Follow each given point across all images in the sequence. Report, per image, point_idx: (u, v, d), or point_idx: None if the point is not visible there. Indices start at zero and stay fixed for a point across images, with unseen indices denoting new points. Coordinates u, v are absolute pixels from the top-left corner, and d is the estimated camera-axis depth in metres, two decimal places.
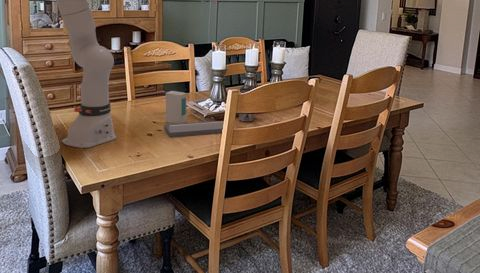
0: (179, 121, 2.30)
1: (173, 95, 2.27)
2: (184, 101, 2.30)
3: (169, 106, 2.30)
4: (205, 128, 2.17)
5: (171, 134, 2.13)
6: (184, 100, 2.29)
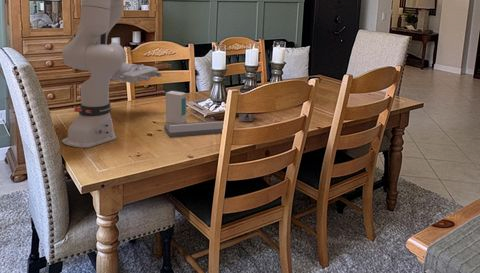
0: (179, 121, 2.30)
1: (173, 95, 2.27)
2: (184, 101, 2.30)
3: (169, 106, 2.30)
4: (205, 128, 2.17)
5: (171, 134, 2.13)
6: (184, 100, 2.29)
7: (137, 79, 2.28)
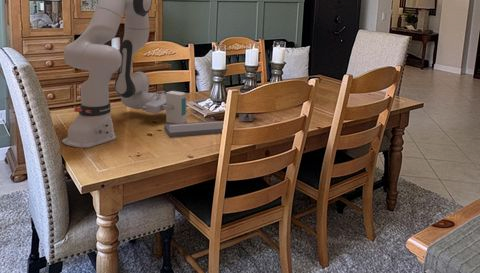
0: (179, 121, 2.30)
1: (173, 95, 2.27)
2: (184, 101, 2.30)
3: None
4: (205, 128, 2.17)
5: (171, 134, 2.13)
6: (184, 100, 2.29)
7: (159, 109, 2.27)
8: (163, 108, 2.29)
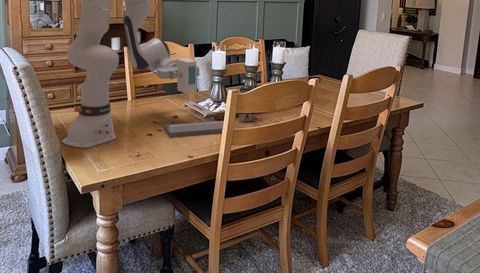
0: (186, 90, 2.18)
1: (182, 62, 2.16)
2: (193, 69, 2.17)
3: None
4: (205, 128, 2.17)
5: (171, 134, 2.13)
6: (193, 68, 2.16)
7: (167, 75, 2.19)
8: (172, 75, 2.20)
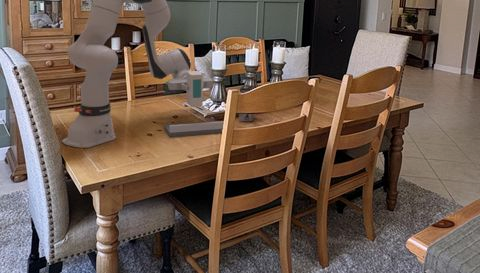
0: (191, 103, 2.15)
1: (189, 74, 2.14)
2: (198, 83, 2.13)
3: None
4: (205, 128, 2.17)
5: (171, 134, 2.13)
6: (198, 82, 2.12)
7: (176, 87, 2.18)
8: (181, 87, 2.19)
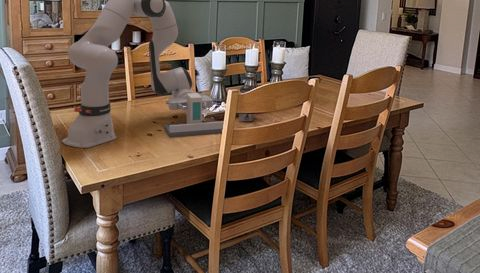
0: None
1: (188, 97, 2.17)
2: (198, 105, 2.16)
3: (187, 108, 2.21)
4: (205, 128, 2.17)
5: (171, 134, 2.13)
6: (198, 104, 2.16)
7: (176, 107, 2.21)
8: (177, 107, 2.21)
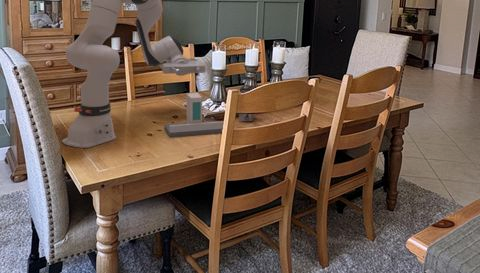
0: None
1: (188, 97, 2.17)
2: (198, 105, 2.16)
3: (187, 108, 2.21)
4: (205, 128, 2.17)
5: (171, 134, 2.13)
6: (198, 104, 2.16)
7: (169, 70, 2.27)
8: (171, 70, 2.27)
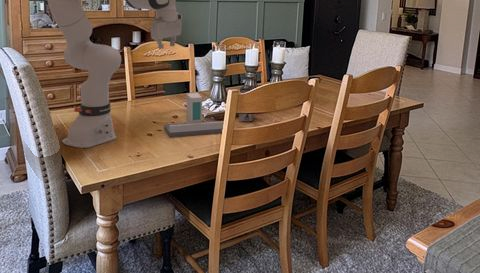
0: None
1: (188, 97, 2.17)
2: (198, 105, 2.16)
3: (187, 108, 2.21)
4: (205, 128, 2.17)
5: (171, 134, 2.13)
6: (198, 104, 2.16)
7: None
8: (157, 39, 2.20)
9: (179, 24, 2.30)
